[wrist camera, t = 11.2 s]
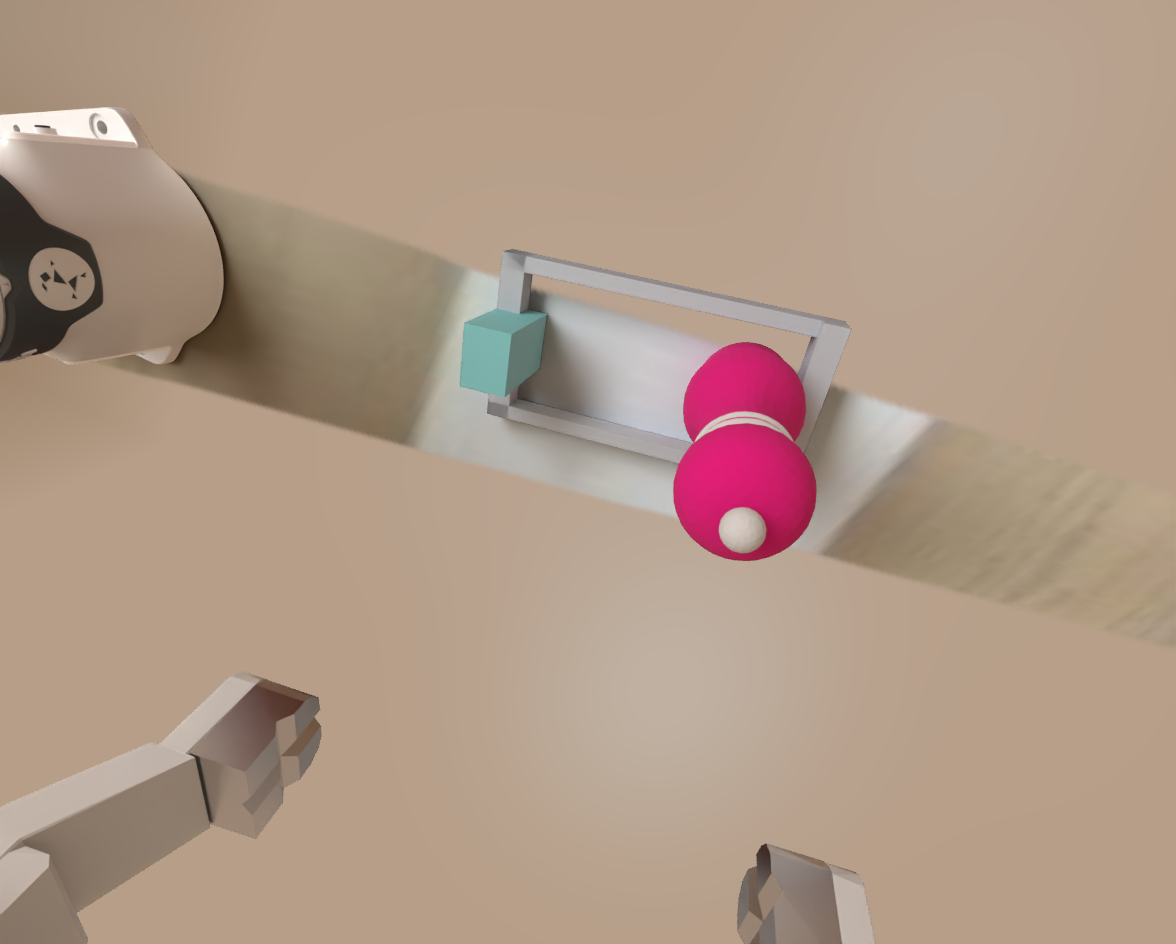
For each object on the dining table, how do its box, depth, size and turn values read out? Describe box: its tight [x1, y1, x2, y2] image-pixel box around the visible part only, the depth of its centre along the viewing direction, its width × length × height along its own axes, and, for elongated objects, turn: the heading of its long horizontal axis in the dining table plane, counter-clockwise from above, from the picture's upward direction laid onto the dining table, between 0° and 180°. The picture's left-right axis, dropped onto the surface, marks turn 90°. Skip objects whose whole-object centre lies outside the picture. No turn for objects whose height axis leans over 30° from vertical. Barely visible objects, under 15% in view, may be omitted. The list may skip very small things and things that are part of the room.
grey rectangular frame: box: [460, 249, 851, 463], centre depth 37 cm, size 22×11×7 cm, turn 80°
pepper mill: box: [673, 342, 816, 561], centre depth 30 cm, size 7×7×20 cm
